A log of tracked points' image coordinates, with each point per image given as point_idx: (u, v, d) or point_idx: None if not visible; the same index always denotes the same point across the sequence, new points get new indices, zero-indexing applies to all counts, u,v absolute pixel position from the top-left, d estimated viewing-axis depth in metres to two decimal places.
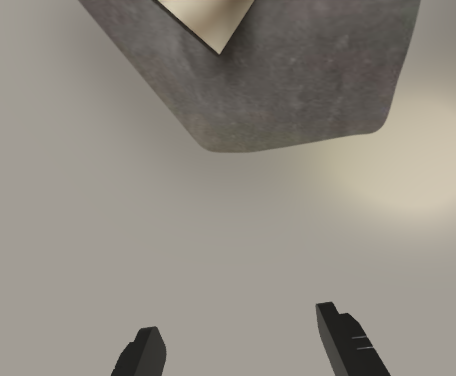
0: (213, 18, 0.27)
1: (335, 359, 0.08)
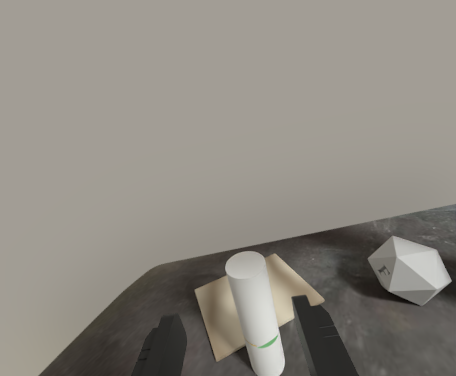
0: (212, 292, 0.39)
1: (305, 346, 0.09)
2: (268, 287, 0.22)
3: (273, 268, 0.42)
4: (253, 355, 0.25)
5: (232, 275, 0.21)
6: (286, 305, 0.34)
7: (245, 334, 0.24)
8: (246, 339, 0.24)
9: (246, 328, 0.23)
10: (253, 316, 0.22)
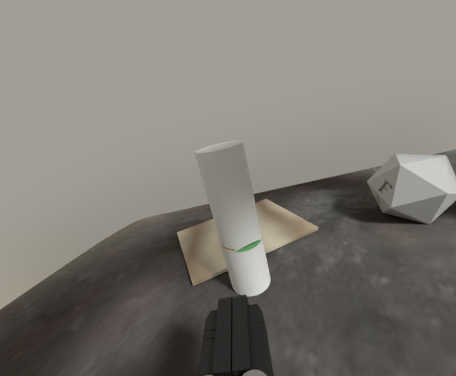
0: (195, 233, 0.36)
1: None
2: (246, 173, 0.19)
3: (263, 209, 0.38)
4: (231, 265, 0.21)
5: (202, 152, 0.18)
6: (275, 235, 0.30)
7: (221, 238, 0.20)
8: (223, 245, 0.21)
9: (222, 227, 0.20)
10: (228, 206, 0.18)
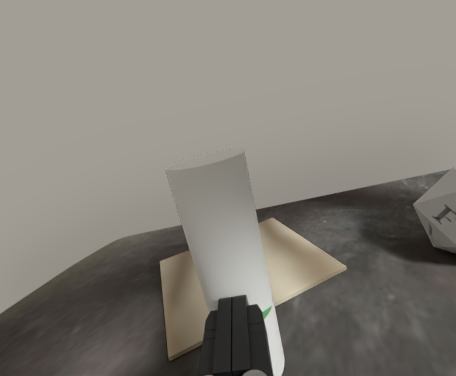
0: (182, 264, 0.28)
1: None
2: (250, 203, 0.11)
3: (270, 233, 0.30)
4: None
5: (174, 168, 0.10)
6: (287, 276, 0.22)
7: (208, 304, 0.13)
8: None
9: (208, 289, 0.12)
10: (218, 260, 0.11)
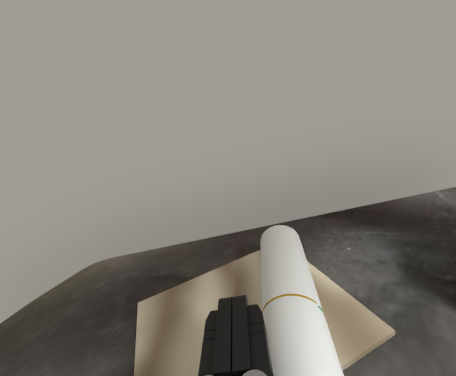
0: (166, 309, 0.21)
1: None
2: None
3: None
4: (313, 324, 0.13)
5: (285, 227, 0.23)
6: None
7: (297, 283, 0.15)
8: (297, 293, 0.15)
9: (300, 272, 0.17)
10: (306, 262, 0.19)
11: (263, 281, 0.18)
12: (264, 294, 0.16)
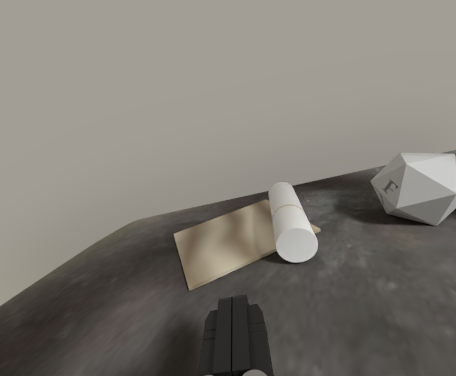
0: (192, 234, 0.34)
1: None
2: None
3: (263, 210, 0.37)
4: None
5: None
6: None
7: None
8: None
9: None
10: None
11: (290, 197, 0.29)
12: (292, 201, 0.28)
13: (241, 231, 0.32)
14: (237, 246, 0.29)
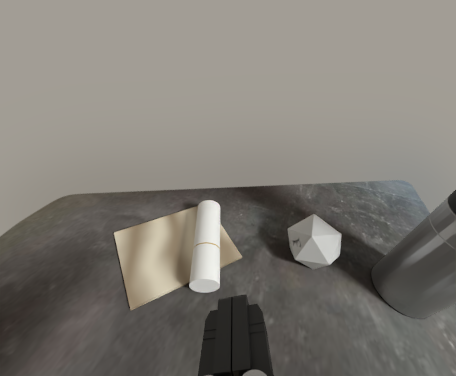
0: (134, 238, 0.37)
1: None
2: None
3: None
4: (217, 257, 0.32)
5: (216, 203, 0.41)
6: None
7: (215, 239, 0.34)
8: (214, 243, 0.34)
9: (217, 233, 0.36)
10: None
11: (199, 231, 0.35)
12: (198, 238, 0.34)
13: (180, 245, 0.37)
14: (175, 264, 0.34)
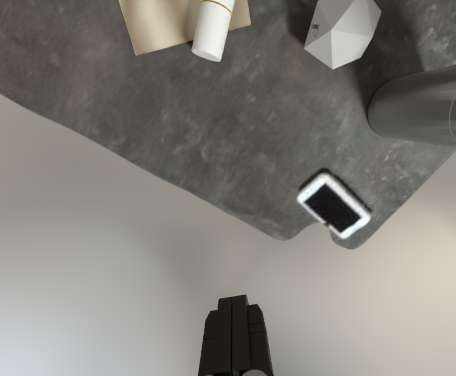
0: None
1: None
2: None
3: None
4: (227, 30, 0.30)
5: None
6: None
7: (232, 2, 0.28)
8: (230, 10, 0.28)
9: None
10: None
11: None
12: None
13: None
14: (174, 14, 0.31)
